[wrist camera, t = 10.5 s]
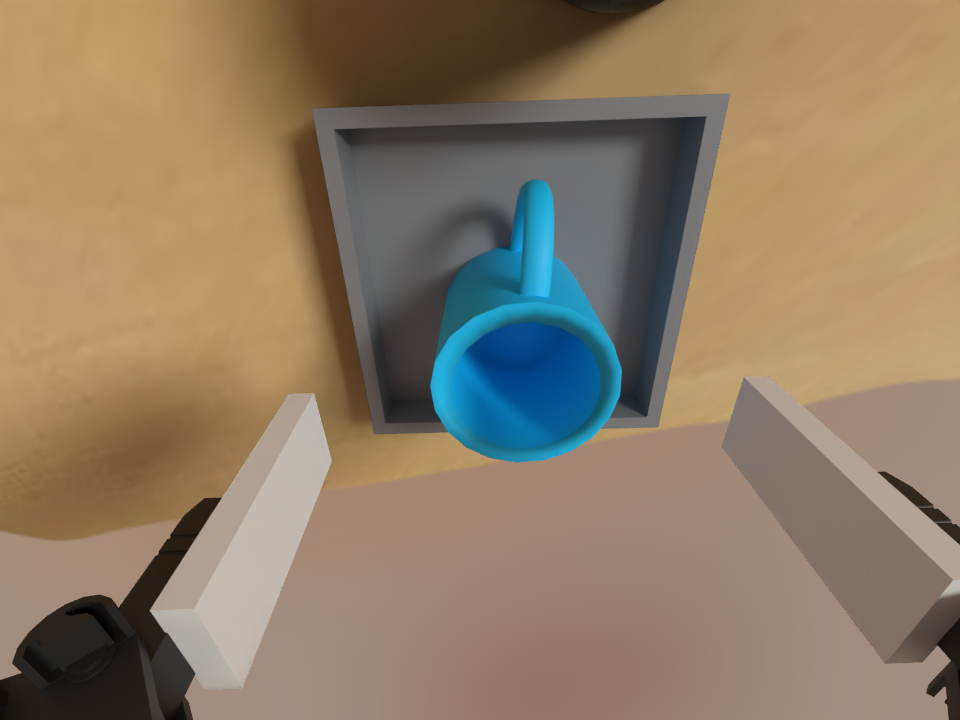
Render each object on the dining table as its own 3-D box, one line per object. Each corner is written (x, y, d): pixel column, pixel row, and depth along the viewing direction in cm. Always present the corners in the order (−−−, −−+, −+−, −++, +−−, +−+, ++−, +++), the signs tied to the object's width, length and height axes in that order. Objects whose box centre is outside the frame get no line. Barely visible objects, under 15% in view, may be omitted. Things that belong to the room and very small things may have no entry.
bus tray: (383, 405, 30) (374, 434, 27) (332, 108, 21) (311, 108, 18) (642, 399, 30) (658, 427, 27) (699, 95, 21) (730, 93, 18)
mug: (570, 375, 28) (601, 466, 21) (443, 369, 28) (430, 458, 21) (609, 173, 22) (670, 203, 15) (446, 163, 22) (430, 188, 15)
